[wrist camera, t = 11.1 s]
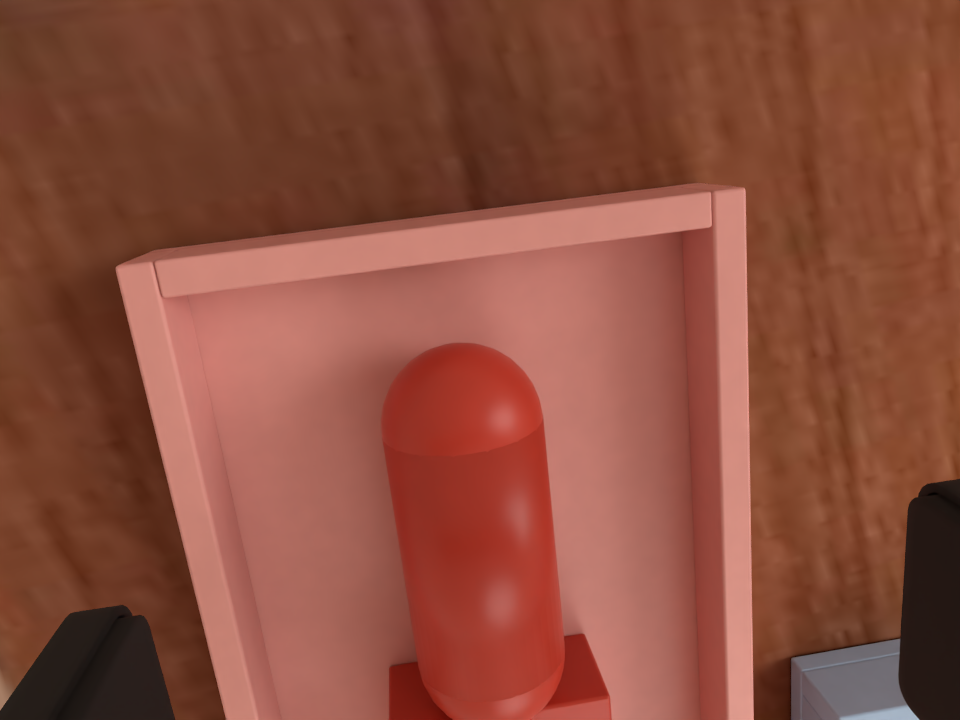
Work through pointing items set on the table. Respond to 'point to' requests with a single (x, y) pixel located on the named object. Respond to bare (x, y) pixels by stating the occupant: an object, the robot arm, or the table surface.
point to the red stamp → (479, 547)
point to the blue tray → (849, 684)
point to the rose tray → (360, 453)
